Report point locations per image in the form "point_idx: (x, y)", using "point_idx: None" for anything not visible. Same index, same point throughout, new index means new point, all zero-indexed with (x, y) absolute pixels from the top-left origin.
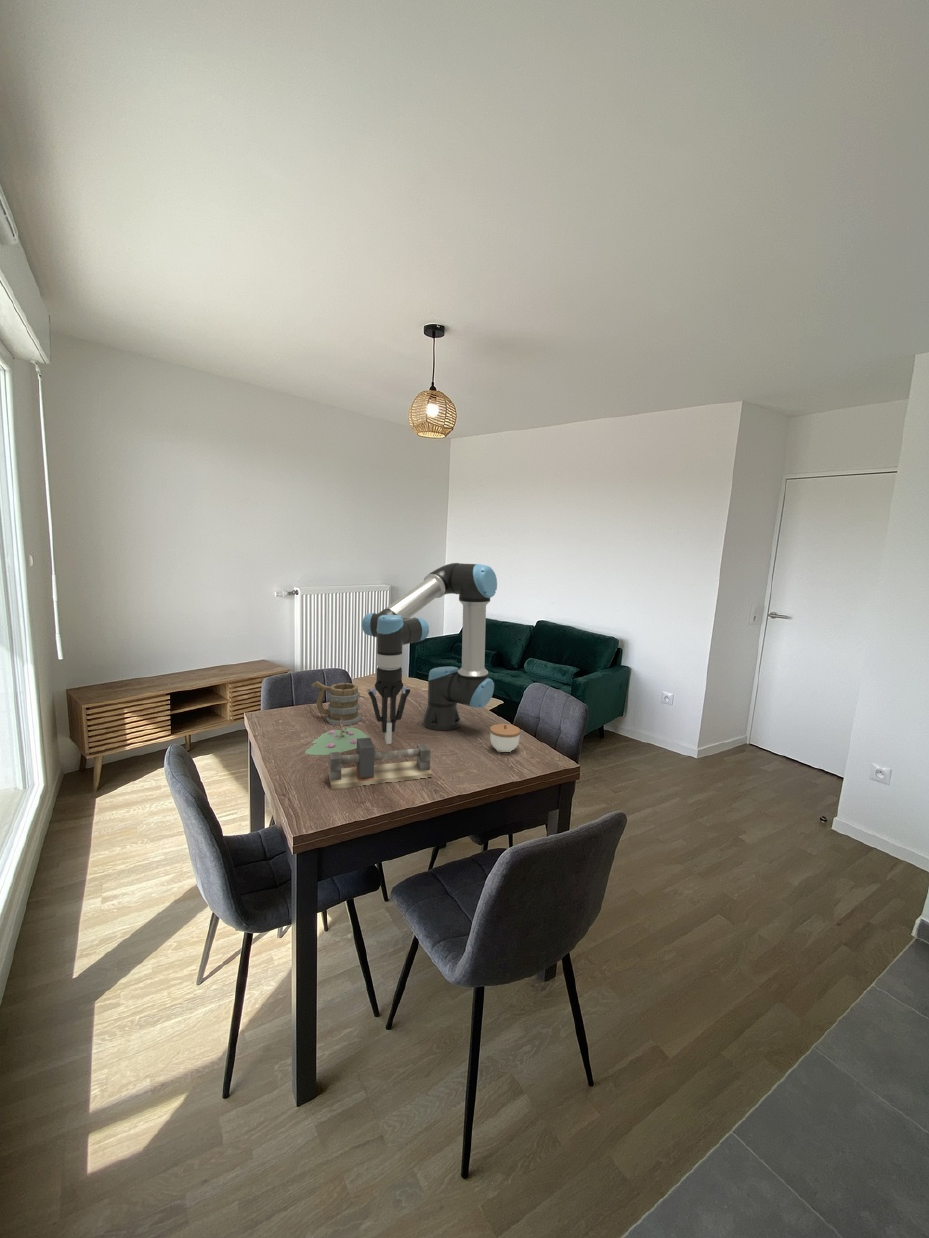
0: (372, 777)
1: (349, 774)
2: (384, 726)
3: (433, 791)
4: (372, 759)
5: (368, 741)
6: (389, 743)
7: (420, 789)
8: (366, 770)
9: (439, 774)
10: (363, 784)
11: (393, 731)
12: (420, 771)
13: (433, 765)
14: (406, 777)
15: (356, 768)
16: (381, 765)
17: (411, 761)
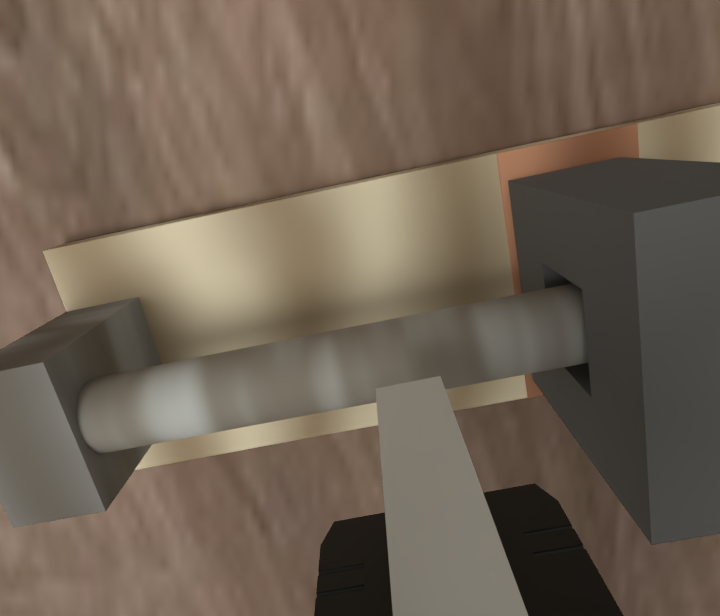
0: None
1: None
2: (558, 582)
3: (29, 5)
4: (583, 191)
5: (689, 424)
6: (402, 384)
7: (136, 48)
8: (596, 172)
9: (13, 297)
10: (578, 133)
11: (349, 526)
12: (137, 284)
13: None
14: (246, 206)
15: None
16: None
17: (217, 452)
